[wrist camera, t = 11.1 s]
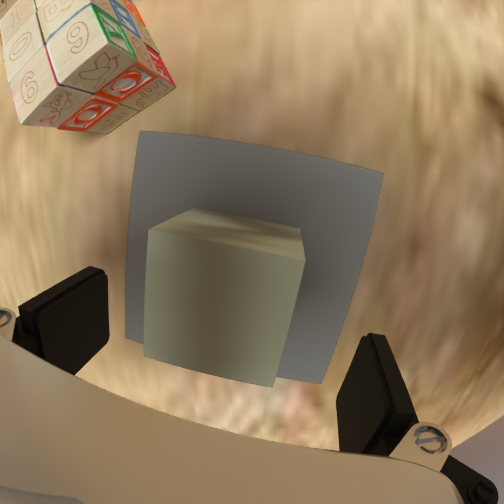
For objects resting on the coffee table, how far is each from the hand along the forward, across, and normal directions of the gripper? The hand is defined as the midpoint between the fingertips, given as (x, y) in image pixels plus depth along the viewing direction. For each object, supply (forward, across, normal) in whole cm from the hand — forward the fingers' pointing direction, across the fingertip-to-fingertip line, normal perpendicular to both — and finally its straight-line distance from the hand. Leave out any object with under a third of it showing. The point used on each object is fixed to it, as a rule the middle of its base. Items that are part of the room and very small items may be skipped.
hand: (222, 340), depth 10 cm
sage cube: (+8, +1, 0) cm, 8 cm away
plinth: (+11, +1, 0) cm, 11 cm away
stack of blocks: (+11, +16, -17) cm, 26 cm away
